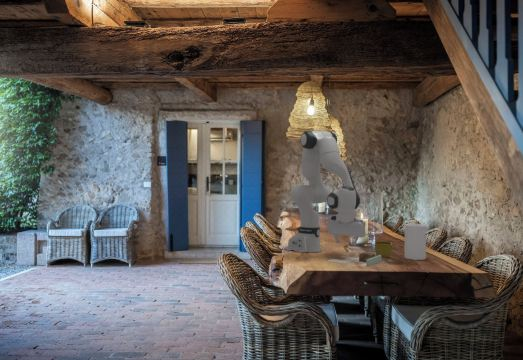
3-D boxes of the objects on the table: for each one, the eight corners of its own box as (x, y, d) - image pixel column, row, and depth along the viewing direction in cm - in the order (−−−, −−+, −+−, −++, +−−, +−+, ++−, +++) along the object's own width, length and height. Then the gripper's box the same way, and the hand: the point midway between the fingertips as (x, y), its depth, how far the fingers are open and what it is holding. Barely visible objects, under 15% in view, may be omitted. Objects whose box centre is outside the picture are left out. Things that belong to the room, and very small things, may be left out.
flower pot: (391, 261, 245) (392, 244, 245) (374, 260, 247) (375, 243, 247) (390, 258, 254) (391, 241, 254) (374, 257, 256) (374, 241, 255)
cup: (426, 260, 248) (426, 226, 247) (404, 259, 251) (404, 225, 251) (425, 257, 258) (425, 224, 258) (404, 256, 261) (404, 223, 261)
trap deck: (326, 263, 235) (326, 255, 235) (341, 258, 250) (341, 250, 249) (368, 269, 223) (368, 260, 223) (381, 263, 237) (381, 255, 237)
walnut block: (359, 261, 234) (359, 253, 234) (363, 259, 239) (363, 252, 239) (370, 263, 231) (370, 255, 231) (374, 261, 236) (374, 253, 236)
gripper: (368, 219, 238) (367, 245, 239) (331, 215, 250) (330, 240, 250) (363, 220, 233) (362, 247, 234) (326, 216, 245) (325, 242, 245)
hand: (345, 244), depth 242 cm, fingers open, 8 cm apart
